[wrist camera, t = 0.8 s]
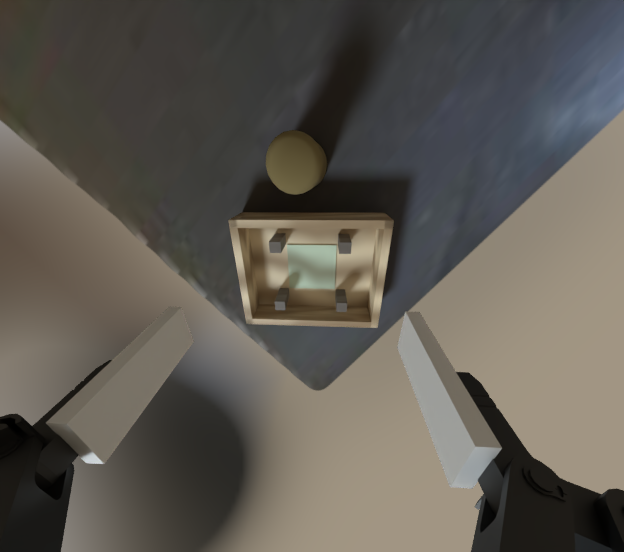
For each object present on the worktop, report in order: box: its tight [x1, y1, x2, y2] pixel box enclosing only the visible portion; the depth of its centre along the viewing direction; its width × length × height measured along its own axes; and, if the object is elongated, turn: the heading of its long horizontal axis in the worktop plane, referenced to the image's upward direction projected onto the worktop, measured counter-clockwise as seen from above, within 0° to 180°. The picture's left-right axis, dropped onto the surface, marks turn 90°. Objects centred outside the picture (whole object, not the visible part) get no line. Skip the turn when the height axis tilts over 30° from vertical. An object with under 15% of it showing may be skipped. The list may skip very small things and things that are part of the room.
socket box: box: [229, 212, 394, 328], centre depth 32 cm, size 16×20×5 cm
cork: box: [266, 130, 327, 195], centre depth 24 cm, size 6×6×11 cm
